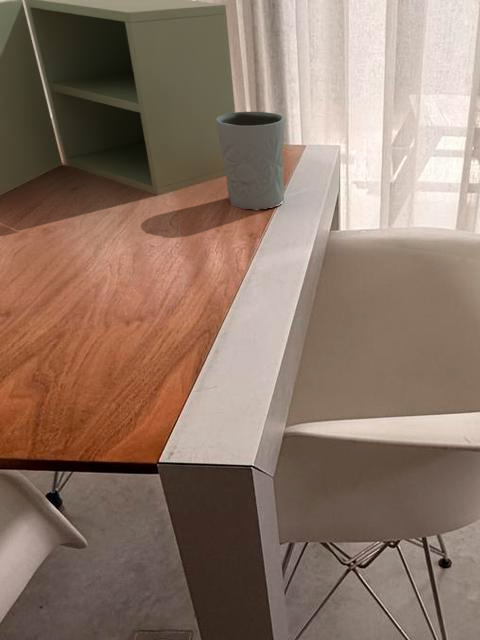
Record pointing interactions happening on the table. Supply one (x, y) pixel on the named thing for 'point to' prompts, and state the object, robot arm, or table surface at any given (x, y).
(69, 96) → the cupboard
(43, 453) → the table surface
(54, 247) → the table surface
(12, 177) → the cupboard door
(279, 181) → the grey green cup
